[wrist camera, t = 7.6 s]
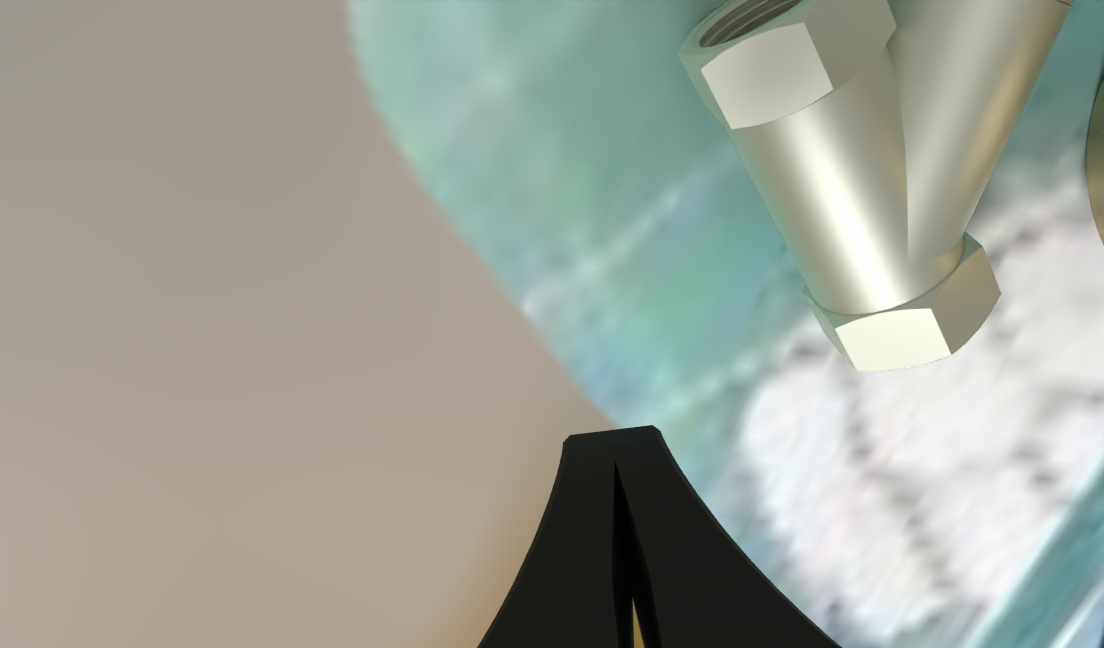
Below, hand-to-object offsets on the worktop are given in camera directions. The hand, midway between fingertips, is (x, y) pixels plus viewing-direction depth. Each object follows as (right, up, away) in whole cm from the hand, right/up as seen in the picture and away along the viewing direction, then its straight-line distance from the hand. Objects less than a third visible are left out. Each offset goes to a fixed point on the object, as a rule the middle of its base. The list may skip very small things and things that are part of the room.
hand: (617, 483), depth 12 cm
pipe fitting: (+6, +7, +6) cm, 12 cm away
